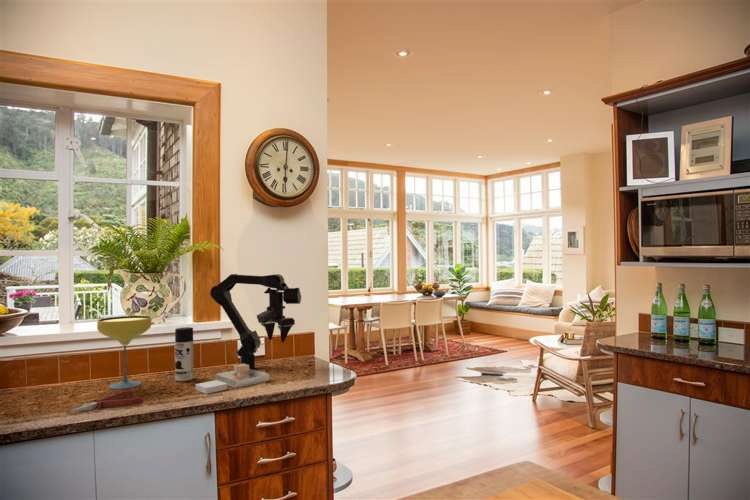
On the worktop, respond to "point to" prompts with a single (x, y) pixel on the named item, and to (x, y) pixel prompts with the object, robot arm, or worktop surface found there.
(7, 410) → the worktop surface
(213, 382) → the soap bar
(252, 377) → the plate
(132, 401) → the pliers
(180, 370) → the spray can
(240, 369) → the peg
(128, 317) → the cocktail glass
